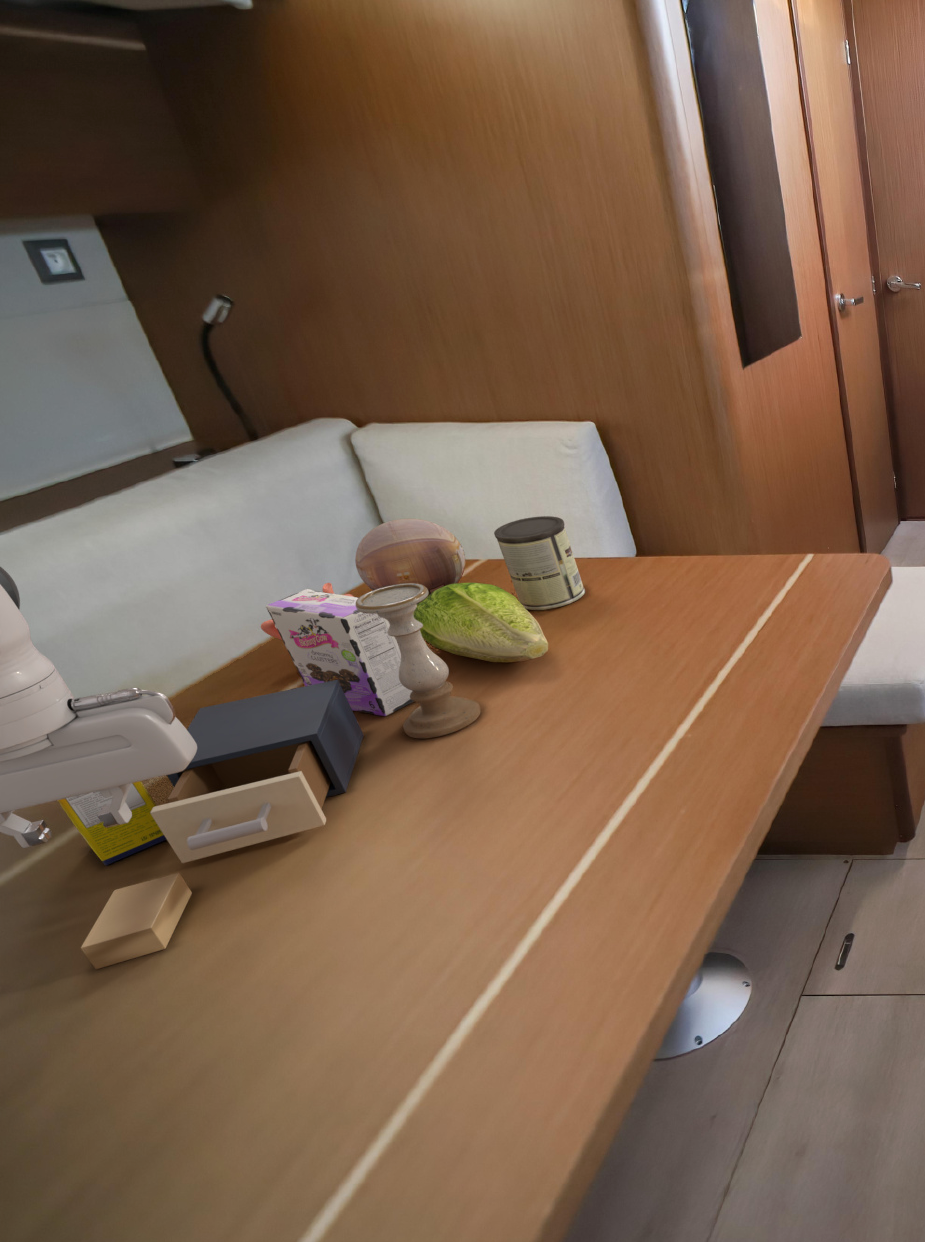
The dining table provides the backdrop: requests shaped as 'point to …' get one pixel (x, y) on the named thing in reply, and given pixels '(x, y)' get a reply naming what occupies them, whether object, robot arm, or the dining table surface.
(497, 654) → the lettuce
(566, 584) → the coffee can
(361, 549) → the ornament
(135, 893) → the wooden rectangular block
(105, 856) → the supplement box
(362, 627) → the candy box
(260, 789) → the drawer
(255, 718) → the cabinet
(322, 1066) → the dining table surface
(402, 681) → the candle holder
